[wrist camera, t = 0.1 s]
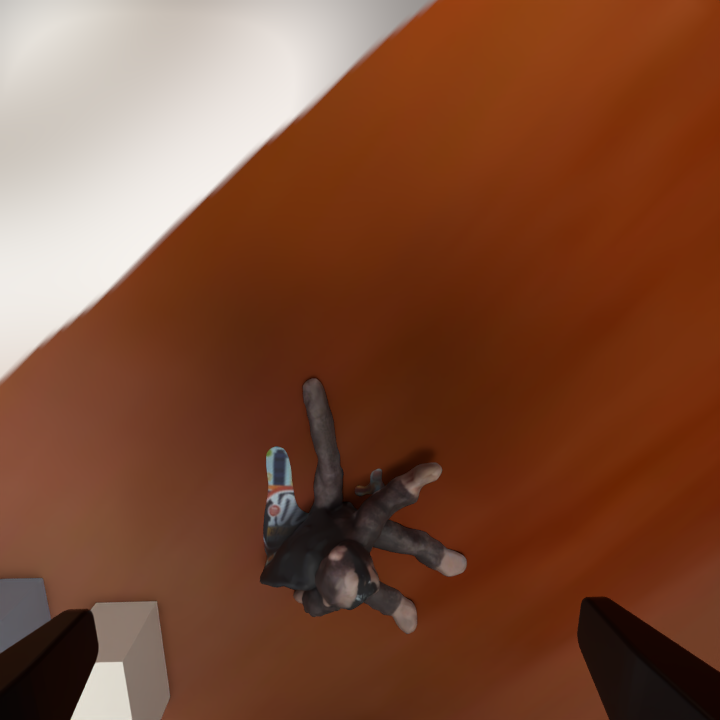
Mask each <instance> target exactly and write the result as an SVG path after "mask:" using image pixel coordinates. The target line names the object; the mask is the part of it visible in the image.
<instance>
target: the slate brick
mask: <svg viewBox="0 0 720 720" xmlns="http://www.w3.org/2000/svg"><path fill="white" fill-rule="evenodd" d="M50 620H51V617H50V612H49V607H48V602H47V597H46V592H45V587H44V582H43V578H24V579H0V653H1V652H3V651H4V650H6V649H7V648H9V647H10V646H12V645H13V644H15V643H17V642H18V641H20V640H21V639H23V638H24V637H26V636H27V635H29V634H30V633H32V632H33V631H35V630H36V629H38V628H39V627H41V626H42V625H44V624H45V623H47V622H48V621H50Z"/></svg>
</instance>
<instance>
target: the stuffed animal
mask: <svg viewBox="0 0 720 720" xmlns="http://www.w3.org/2000/svg"><path fill="white" fill-rule="evenodd" d="M303 398H304V403H305V406H306V409H307V416H308V419H309V423H310V432H311V437H312V441H313V444H314V448H315V451H316V454H317V456H318V465H317V469H316V473H315V480H314V496H315V501H314V504H313V506H312V508H311V510H310V512H309V513H306V512H304V511H302V510H301V509H300V508H299V507H298V505H297V503H296V501H295V497H294V490H293V484H292V477H291V467H290V462H289V457H288V455H287V453H286V452H285V450H284V449H283V448H281V447H278V446H276V447H273V448H271V449H270V450H269V451H268V452H267V455H266V467H267V476H268V483H269V485H268V496H267V501H266V508H265V515H264V529H263V534H264V547H265V551H266V554H267V561H266V565H265V567H264V570H263V572H262V574H261V576H260V582H261V583H262V584H265V585H269V586H272V587H281V586H285V587H288V588H290V589H294V590H295V592H294V595H293V596H294V598H295V600H296V601H297V602H299V603H302V604H303V606H304V610H305V612H306V613H309V614H310V615H311V616H312V617H316V616H323V615H325V614H328V613H331V612H333V611H338V610H340V608H343V609H347V610H352V609H354V608H356V607H358V606H359V605H360V604H362V603H363V602H364V603H366V604H368V605H369V606H371V607H372V608H373V609H376V610H379V611H380V612H381V613H382V614H384V615H391V616H393V618H394V620H395V622H396V624H397V625H398V627H399V628H400V629H401V630H403V631H404V632H405V633H406V634H410V633H411V632H413V631H414V630H415V628H416V626H417V612H416V608H415V605H414V604H413V602H412V601H410V600H409V599H407V598H406V597H404V596H403V595H402V594H401V593H400V592H399V591H398V590H396V589H395V588H392V587H389V586H387V585H386V584H384V583H382V582H380V581H379V577H378V574H377V572H376V570H375V568H374V565H373V561H372V558H371V556H370V554H369V553H370V551H371V549H372V547H375V548H379V549H383V550H387V551H390V552H395V553H400V554H410V555H414V556H415V557H416V558H417V560H418V561H419V562H421V563H423V564H424V565H426V566H427V567H429V568H431V569H434V570H437V571H439V572H440V573H442V574H443V575H445V576H449V577H451V576H454V575H458V574H460V573H462V572H464V570H465V569H466V565H467V562H466V558H465V557H464V556H463V555H462V554H460V553H458V552H456V551H453V550H450V549H447V548H446V547H444V546H443V544H442V543H440V542H439V541H437V540H436V539H434V538H432V537H430V536H429V535H428V534H427V533H426V532H424V531H421V530H416V529H409V528H406V527H404V526H402V525H401V524H399V523H396V522H393V521H391V520H389V518H390V517H391V516H392V515H393V514H394V513H395V512H396V511H398V510H399V509H401V508H403V507H405V506H408V505H411V504H414V503H415V502H417V500H418V497H419V492H420V490H421V488H422V487H423V486H424V485H425V484H428V483H431V482H433V481H436V480H437V479H438V478H439V476H440V475H441V473H442V468H441V466H440V465H439V464H437V463H425V464H420V465H418V466H416V467H414V468H413V469H411V470H410V471H409V472H407V473H405V474H403V475H401V476H398V477H396V478H394V479H392V480H391V481H390V482H389V483H388V484H387V485H386V486H385V485H384V483H383V482H382V478H381V477H382V470H381V469H377V470H374V471H373V472H372V473H371V476H370V483H369V484H368V485H367V486H366V487H363V486H360V485H358V486H357V487H356V488H355V494H356V495H358V496H360V497H361V496H363V495H365V494H373V495H372V496H370V497H369V498H368V499H366V500H365V501H364V502H363V504H362V505H361V507H360V508H359V509H358V510H357V509H356V508H355V507H354V506H353V505H352V504H351V503H350V502H342V500H343V494H342V488H343V480H342V479H343V470H342V468H341V467H340V454H339V451H338V448H337V443H336V436H335V428H334V421H333V417H332V413H331V410H330V408H329V405H328V400H327V396H326V393H325V390H324V388H323V385H322V384H321V382H320V381H319V380H317V379H315V378H312V379H309V380H307V381H306V382H305V383H304V385H303Z"/></svg>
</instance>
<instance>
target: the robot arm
mask: <svg viewBox="0 0 720 720" xmlns="http://www.w3.org/2000/svg"><path fill="white" fill-rule="evenodd" d="M577 636H578V643H579V647H580V649H581V652H582V654H583V657H584V659H585V662H586V664H587V666H588V669H589V671H590V674H591V676H592V679H593V681H594V683H595V686H596V688H597V691H598V693H599V696H600V698H601V700H602V703H603V705H604V708H605V710H606V713H607V715H608V717H609V720H720V672H719V671H717V670H716V669H714V668H713V667H711V666H710V665H708V664H707V663H705V662H704V661H702V660H701V659H699V658H698V657H696V656H695V655H693V654H692V653H690V652H689V651H687V650H686V649H684V648H683V647H681V646H680V645H678V644H677V643H675V642H674V641H672V640H671V639H669V638H668V637H666V636H665V635H663V634H662V633H660V632H659V631H657V630H656V629H654V628H653V627H651V626H650V625H648V624H647V623H645V622H644V621H642V620H641V619H639V618H638V617H636V616H635V615H633V614H632V613H630V612H629V611H627V610H626V609H624V608H623V607H621V606H620V605H618V604H617V603H615V602H614V601H612V600H611V599H609V598H607V597H586V598H584V599H583V600H582V603H581V609H580V616H579V624H578V631H577ZM98 651H99V643H98V638H97V632H96V626H95V621H94V615H93V613H92V611H91V610H88V609H70V610H66V611H64V612H62V613H60V614H59V615H57V616H56V617H54V618H53V619H51V620H50V621H48V622H47V623H45V624H44V625H42V626H41V627H39V628H38V629H36V630H35V631H33V632H32V633H30V634H29V635H27V636H26V637H24V638H23V639H21V640H20V641H18V642H17V643H15V644H13V645H12V646H10V647H9V648H7V649H6V650H4V651H3V652H1V653H0V720H71V718H72V715H73V713H74V711H75V708H76V706H77V704H78V702H79V699H80V697H81V695H82V692H83V690H84V688H85V685H86V683H87V681H88V679H89V676H90V674H91V672H92V669H93V667H94V665H95V662H96V660H97V656H98Z"/></svg>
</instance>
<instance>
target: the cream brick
mask: <svg viewBox="0 0 720 720" xmlns="http://www.w3.org/2000/svg"><path fill="white" fill-rule="evenodd" d="M91 611H92V613H93V615H94V621H95V626H96V632H97V638H98V643H99V651H98V656H97V660H96V662H95V665H94V667H93V669H92V672H91V674H90V676H89V679H88V681H87V683H86V685H85V688H84V690H83V692H82V695H81V697H80V699H79V702H78V704H77V706H76V708H75V711H74V713H73V715H72V718H71V720H161V718H162V716H163V713H164V711H165V708H166V706H167V704H168V701H169V699H170V691H169V684H168V677H167V670H166V663H165V655H164V648H163V641H162V634H161V627H160V620H159V612H158V605H157V601H147V602H109V603H95V605H94V606H93V608H92V609H91Z"/></svg>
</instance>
